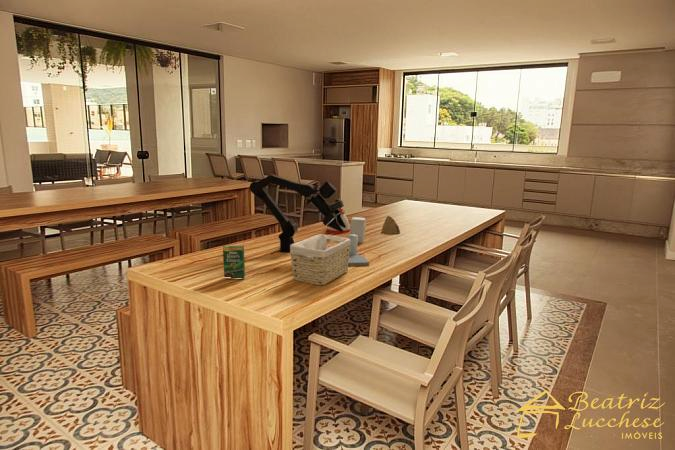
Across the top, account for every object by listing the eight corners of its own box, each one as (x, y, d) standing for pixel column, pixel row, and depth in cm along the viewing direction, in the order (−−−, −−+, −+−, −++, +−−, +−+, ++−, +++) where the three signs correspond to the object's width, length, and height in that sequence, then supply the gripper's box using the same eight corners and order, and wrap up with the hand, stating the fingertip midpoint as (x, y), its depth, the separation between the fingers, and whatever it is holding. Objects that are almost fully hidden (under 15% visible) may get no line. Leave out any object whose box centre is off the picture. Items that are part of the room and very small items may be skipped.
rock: (404, 228, 264) (390, 224, 270) (402, 219, 258) (387, 214, 264) (395, 241, 259) (381, 236, 265) (392, 231, 253) (378, 227, 259)
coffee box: (223, 279, 170) (222, 246, 168) (224, 277, 173) (224, 245, 170) (243, 280, 170) (243, 247, 168) (245, 277, 173) (244, 245, 170)
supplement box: (363, 243, 235) (364, 220, 233) (349, 241, 237) (350, 219, 234) (365, 239, 243) (366, 217, 240) (351, 238, 244) (352, 216, 241)
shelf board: (338, 266, 192) (338, 262, 192) (333, 258, 204) (333, 255, 203) (368, 265, 194) (369, 262, 194) (362, 258, 206) (362, 255, 206)
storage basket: (323, 288, 164) (324, 250, 161) (287, 280, 172) (287, 244, 169) (351, 272, 185) (352, 238, 182) (318, 265, 192) (319, 233, 189)
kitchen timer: (336, 227, 273) (336, 203, 270) (354, 230, 265) (355, 206, 262) (322, 231, 262) (322, 206, 259) (341, 234, 254) (341, 209, 251)
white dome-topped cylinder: (348, 256, 208) (349, 236, 206) (346, 254, 212) (347, 234, 210) (357, 256, 208) (358, 236, 206) (355, 254, 213) (356, 234, 211)
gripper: (330, 196, 197) (353, 222, 197) (337, 191, 215) (358, 215, 215) (312, 212, 200) (335, 237, 200) (321, 206, 218) (342, 229, 218)
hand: (343, 229), depth 208 cm, fingers open, 9 cm apart
